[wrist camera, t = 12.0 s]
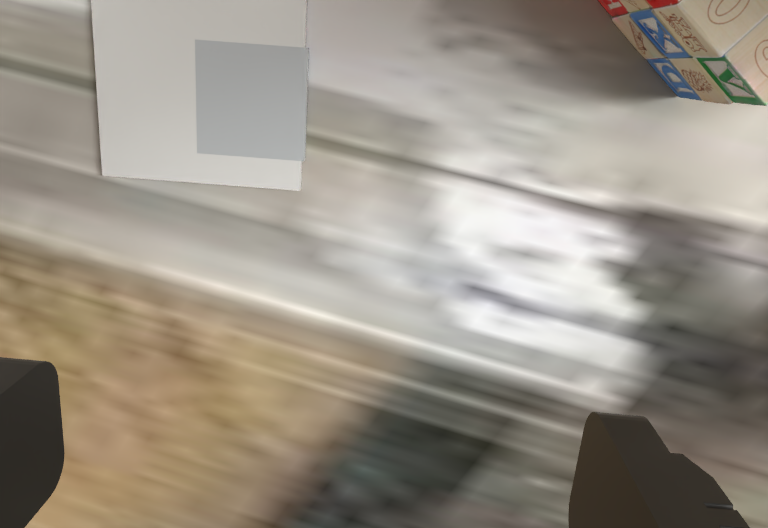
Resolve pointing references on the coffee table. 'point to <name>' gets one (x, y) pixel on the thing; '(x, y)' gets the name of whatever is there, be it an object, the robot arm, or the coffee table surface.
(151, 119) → the white board
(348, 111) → the coffee table surface
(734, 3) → the stack of blocks
